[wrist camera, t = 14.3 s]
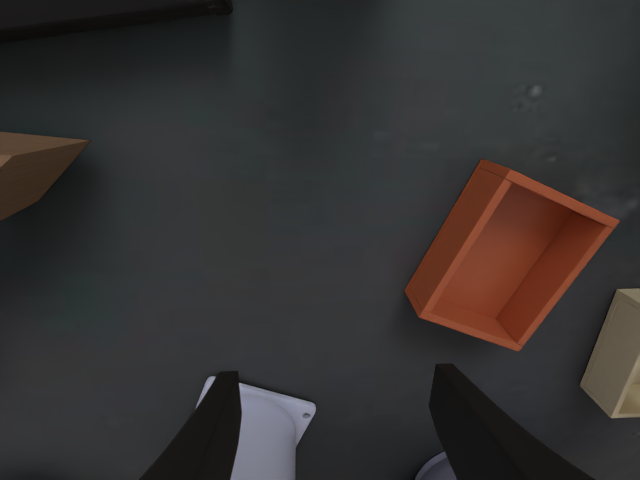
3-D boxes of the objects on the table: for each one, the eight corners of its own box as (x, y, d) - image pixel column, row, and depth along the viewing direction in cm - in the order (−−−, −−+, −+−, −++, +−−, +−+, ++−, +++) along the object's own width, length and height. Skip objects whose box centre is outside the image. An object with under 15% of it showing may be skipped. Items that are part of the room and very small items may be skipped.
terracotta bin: (494, 323, 24) (518, 352, 21) (403, 290, 22) (418, 317, 20) (579, 204, 21) (620, 220, 18) (481, 158, 19) (510, 168, 17)
